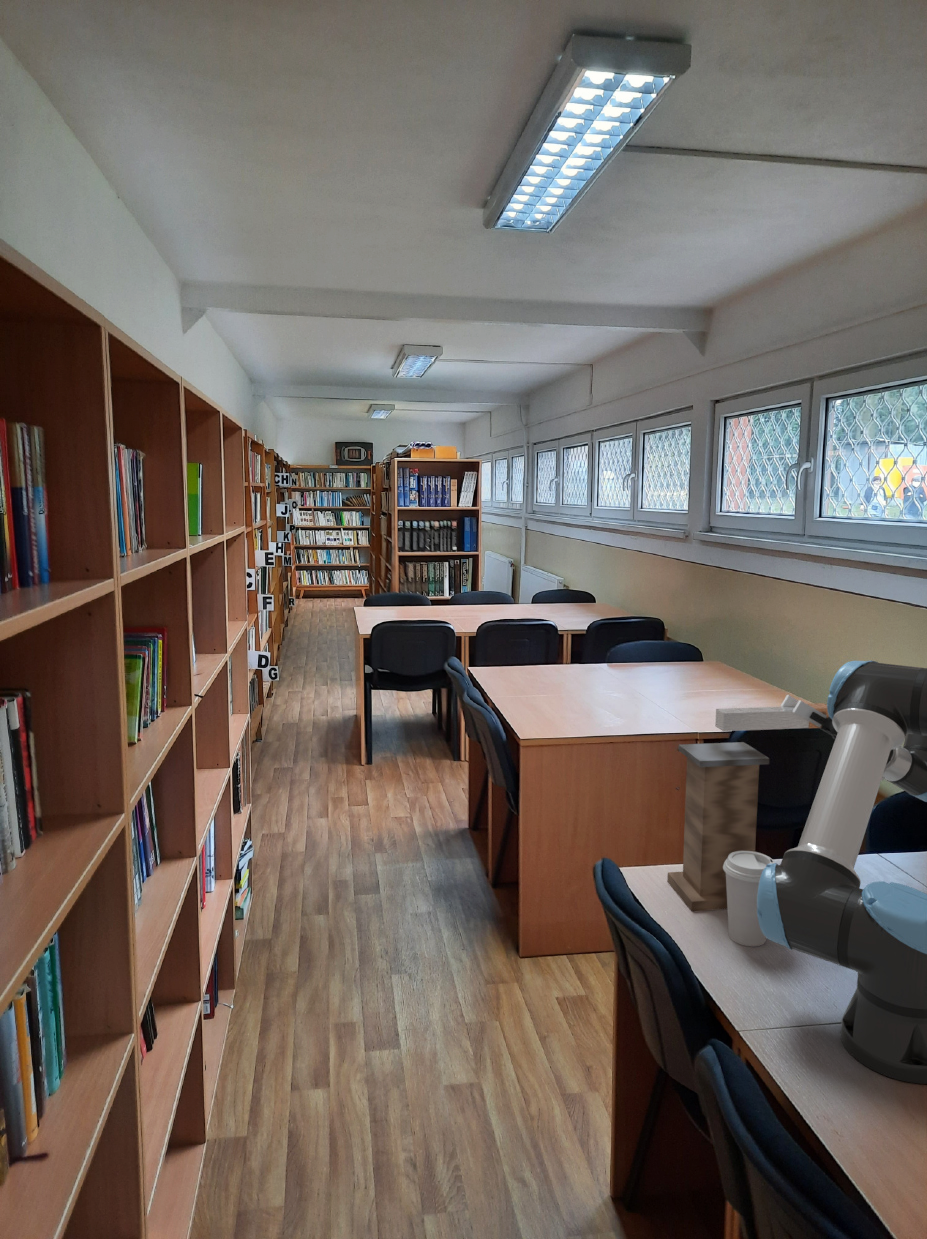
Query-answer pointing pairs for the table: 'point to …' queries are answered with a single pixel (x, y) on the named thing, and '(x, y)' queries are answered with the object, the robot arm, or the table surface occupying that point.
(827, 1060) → the table surface
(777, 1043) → the table surface
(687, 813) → the post
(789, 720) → the wood grain block
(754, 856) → the coffee cup
